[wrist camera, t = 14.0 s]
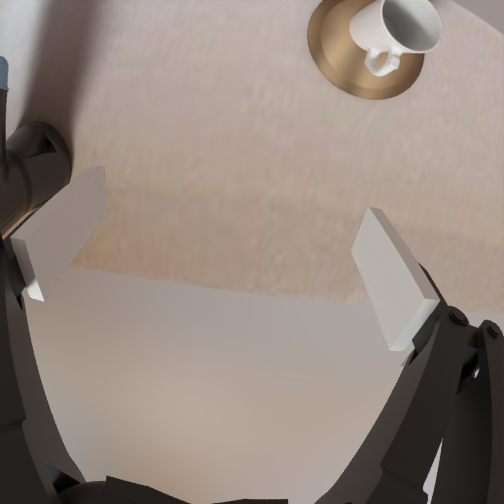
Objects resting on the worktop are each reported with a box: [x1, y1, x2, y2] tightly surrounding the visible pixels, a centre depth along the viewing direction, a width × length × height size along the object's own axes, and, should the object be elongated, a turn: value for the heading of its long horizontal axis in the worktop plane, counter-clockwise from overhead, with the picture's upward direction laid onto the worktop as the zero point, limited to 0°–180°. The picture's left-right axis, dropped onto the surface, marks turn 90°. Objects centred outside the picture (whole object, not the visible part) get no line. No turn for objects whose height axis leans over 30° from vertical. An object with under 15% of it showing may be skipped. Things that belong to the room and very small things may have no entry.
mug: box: [349, 0, 443, 77], centre depth 23 cm, size 10×7×12 cm, turn 165°
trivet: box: [308, 0, 424, 100], centre depth 28 cm, size 16×16×1 cm
